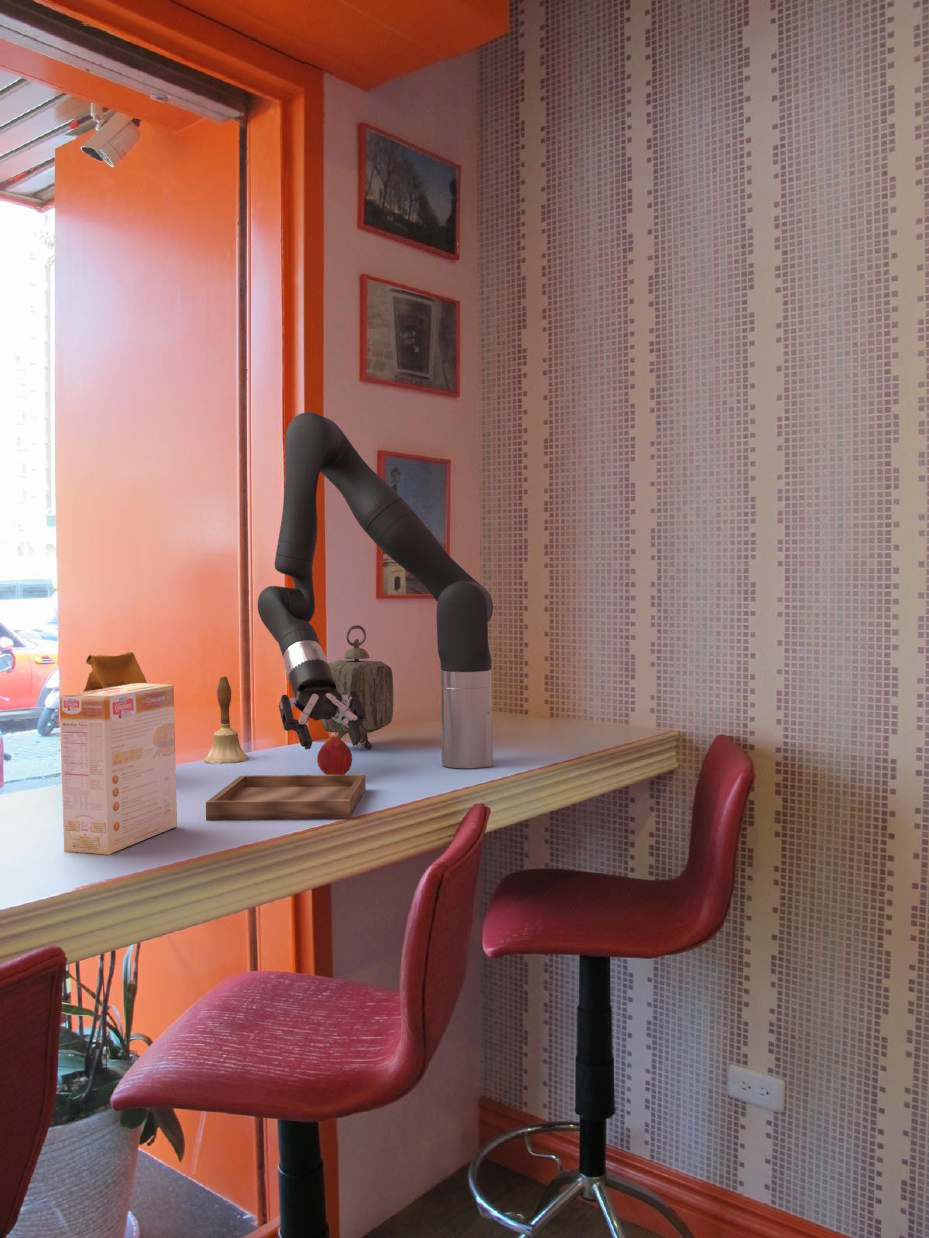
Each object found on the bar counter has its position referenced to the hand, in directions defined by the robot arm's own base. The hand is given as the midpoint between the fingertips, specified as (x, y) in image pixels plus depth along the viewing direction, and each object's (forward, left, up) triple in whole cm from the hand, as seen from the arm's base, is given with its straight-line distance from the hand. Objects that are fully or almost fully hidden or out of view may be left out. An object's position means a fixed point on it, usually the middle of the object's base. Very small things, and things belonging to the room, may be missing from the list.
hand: (333, 744), depth 165 cm
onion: (0, 0, -6) cm, 6 cm away
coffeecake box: (+22, +38, -6) cm, 45 cm away
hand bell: (+24, -22, -6) cm, 33 cm away
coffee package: (+37, +1, -6) cm, 37 cm away
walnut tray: (+4, +18, -6) cm, 20 cm away
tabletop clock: (0, -34, -6) cm, 34 cm away
